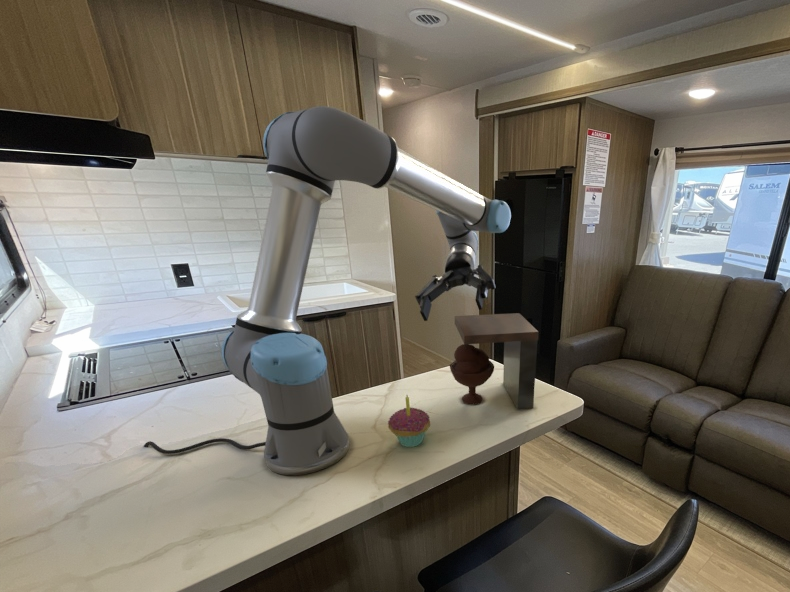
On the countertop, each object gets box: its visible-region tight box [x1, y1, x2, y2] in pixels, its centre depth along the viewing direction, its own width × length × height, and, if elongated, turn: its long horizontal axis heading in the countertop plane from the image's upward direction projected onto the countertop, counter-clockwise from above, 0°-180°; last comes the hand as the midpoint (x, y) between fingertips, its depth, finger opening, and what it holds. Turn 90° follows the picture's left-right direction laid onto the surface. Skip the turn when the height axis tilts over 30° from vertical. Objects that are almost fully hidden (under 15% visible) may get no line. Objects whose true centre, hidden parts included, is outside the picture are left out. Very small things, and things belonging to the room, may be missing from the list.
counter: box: [454, 312, 540, 411], centre depth 100 cm, size 17×16×20 cm
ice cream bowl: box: [449, 343, 495, 406], centre depth 100 cm, size 11×11×15 cm
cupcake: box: [387, 394, 431, 448], centre depth 83 cm, size 9×8×12 cm
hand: (450, 310), depth 93 cm, fingers open, 13 cm apart
